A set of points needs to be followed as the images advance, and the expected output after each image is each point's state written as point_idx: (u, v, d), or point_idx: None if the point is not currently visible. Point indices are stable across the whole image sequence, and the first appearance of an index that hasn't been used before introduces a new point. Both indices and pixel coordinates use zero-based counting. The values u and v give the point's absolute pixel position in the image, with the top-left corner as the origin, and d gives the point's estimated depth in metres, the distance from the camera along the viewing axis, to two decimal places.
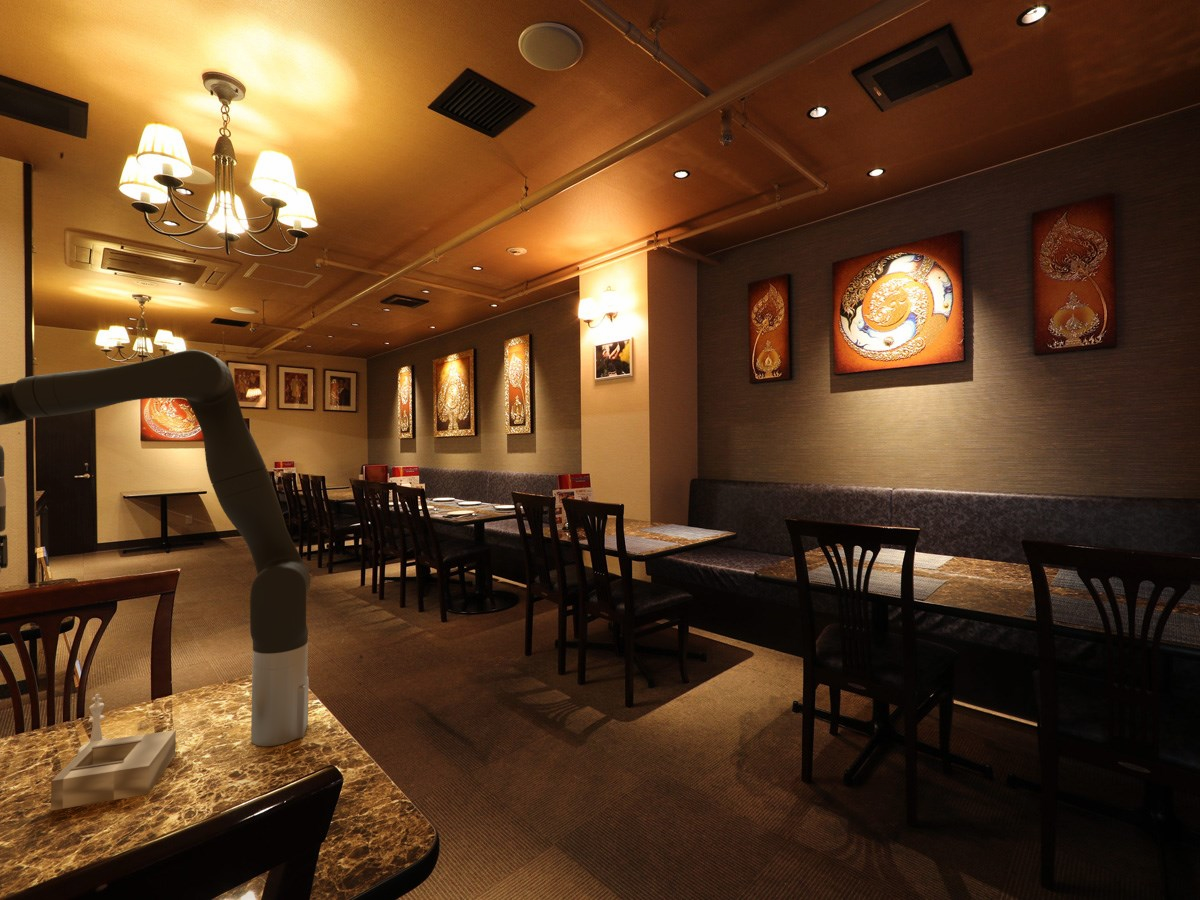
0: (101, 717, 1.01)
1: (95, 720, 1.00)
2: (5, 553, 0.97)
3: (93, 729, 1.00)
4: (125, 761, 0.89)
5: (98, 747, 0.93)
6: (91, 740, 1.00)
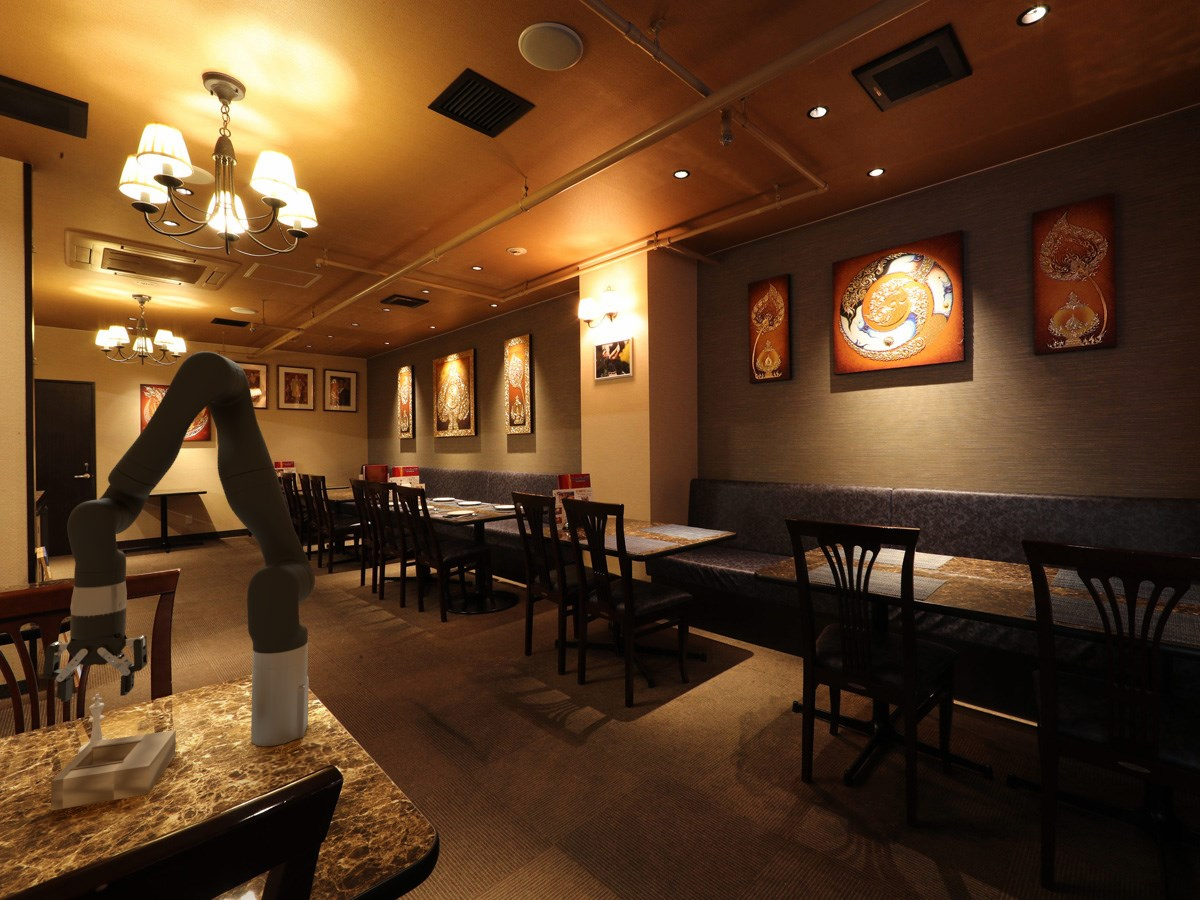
0: (101, 717, 1.01)
1: (95, 720, 1.00)
2: None
3: (93, 729, 1.00)
4: (125, 761, 0.89)
5: (98, 747, 0.93)
6: (91, 740, 1.00)
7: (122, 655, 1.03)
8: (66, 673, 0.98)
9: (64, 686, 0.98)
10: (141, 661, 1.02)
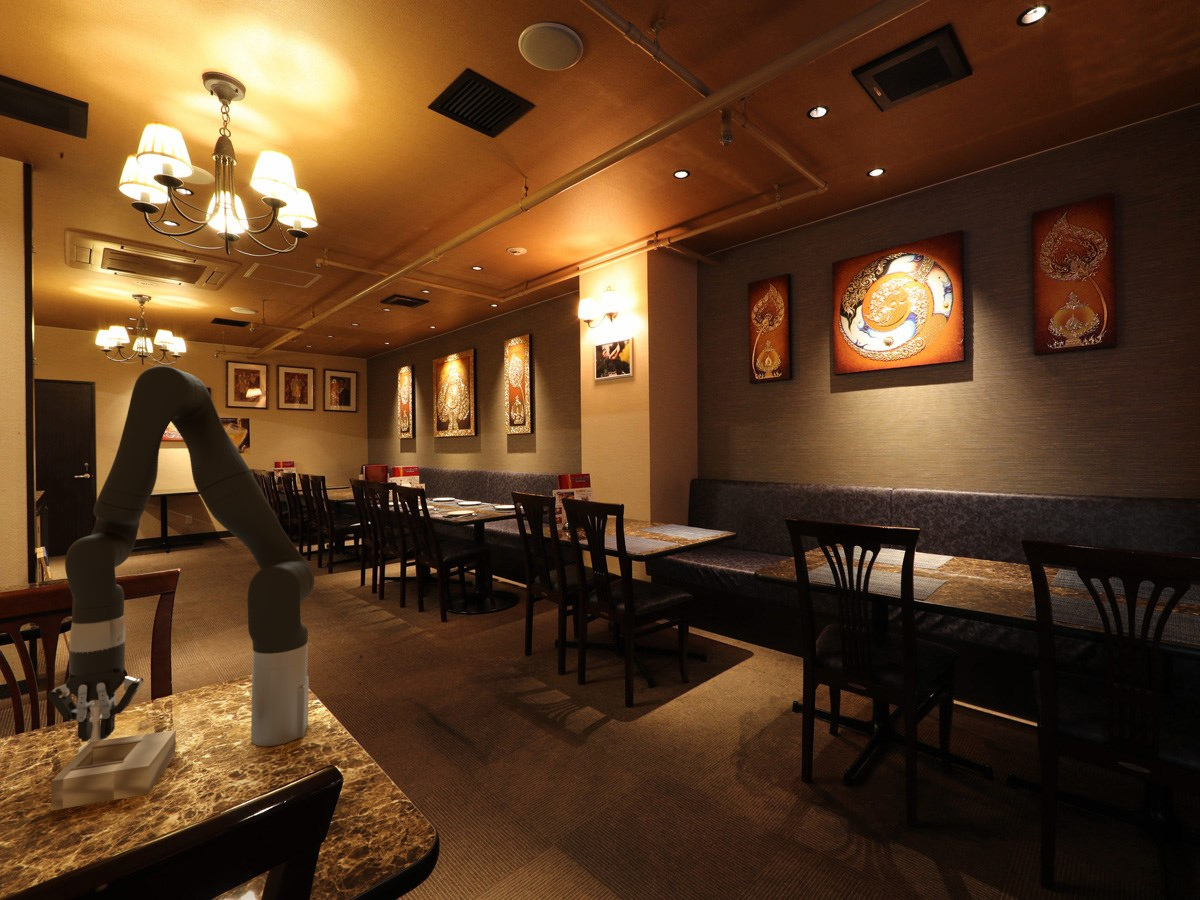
0: (101, 717, 1.01)
1: (95, 720, 1.00)
2: None
3: (93, 729, 1.00)
4: (125, 761, 0.89)
5: (98, 747, 0.93)
6: (91, 740, 1.00)
7: (112, 694, 1.02)
8: (82, 712, 0.99)
9: (85, 726, 0.99)
10: (125, 705, 1.01)
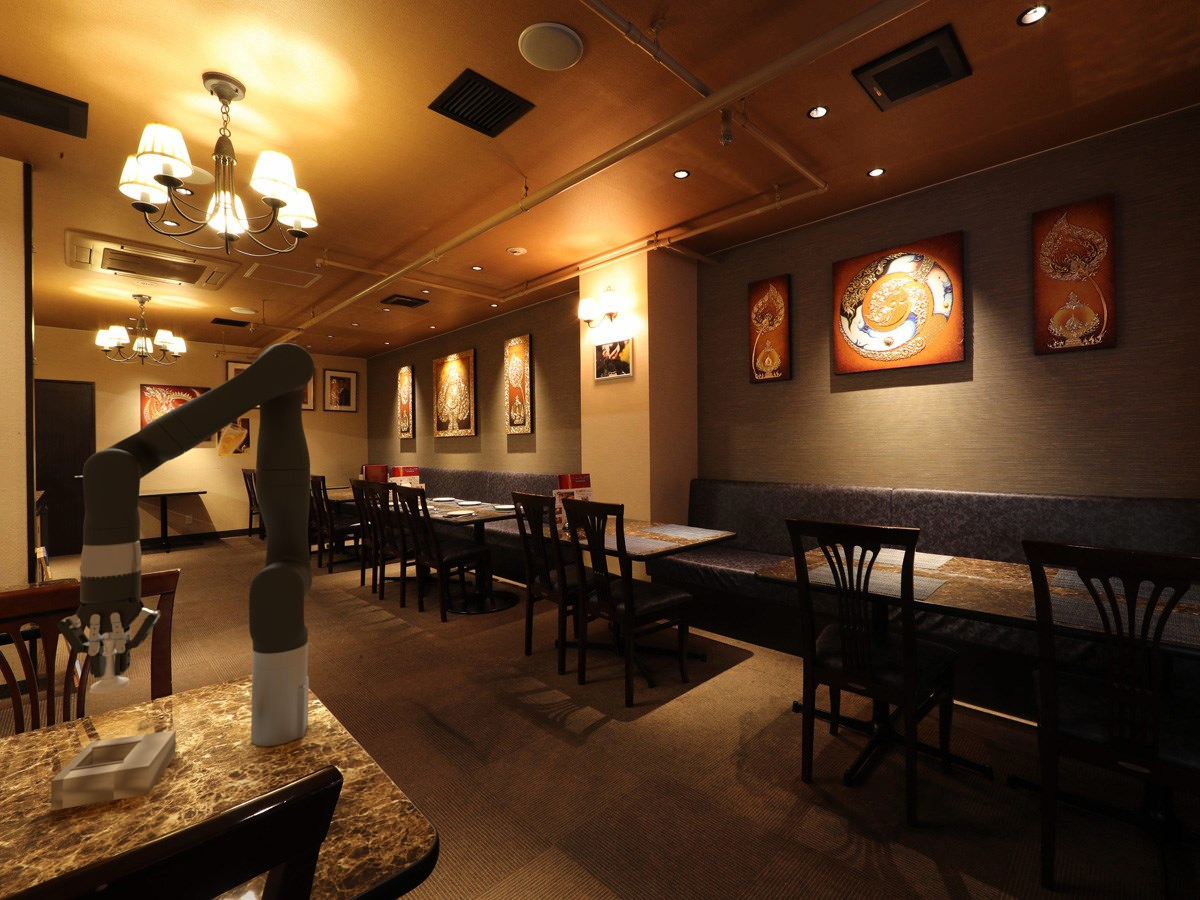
0: (115, 651, 0.91)
1: (109, 654, 0.90)
2: None
3: (107, 664, 0.90)
4: (125, 761, 0.89)
5: (98, 747, 0.93)
6: (104, 676, 0.90)
7: (127, 628, 0.93)
8: (95, 644, 0.89)
9: (97, 660, 0.89)
10: (141, 639, 0.91)
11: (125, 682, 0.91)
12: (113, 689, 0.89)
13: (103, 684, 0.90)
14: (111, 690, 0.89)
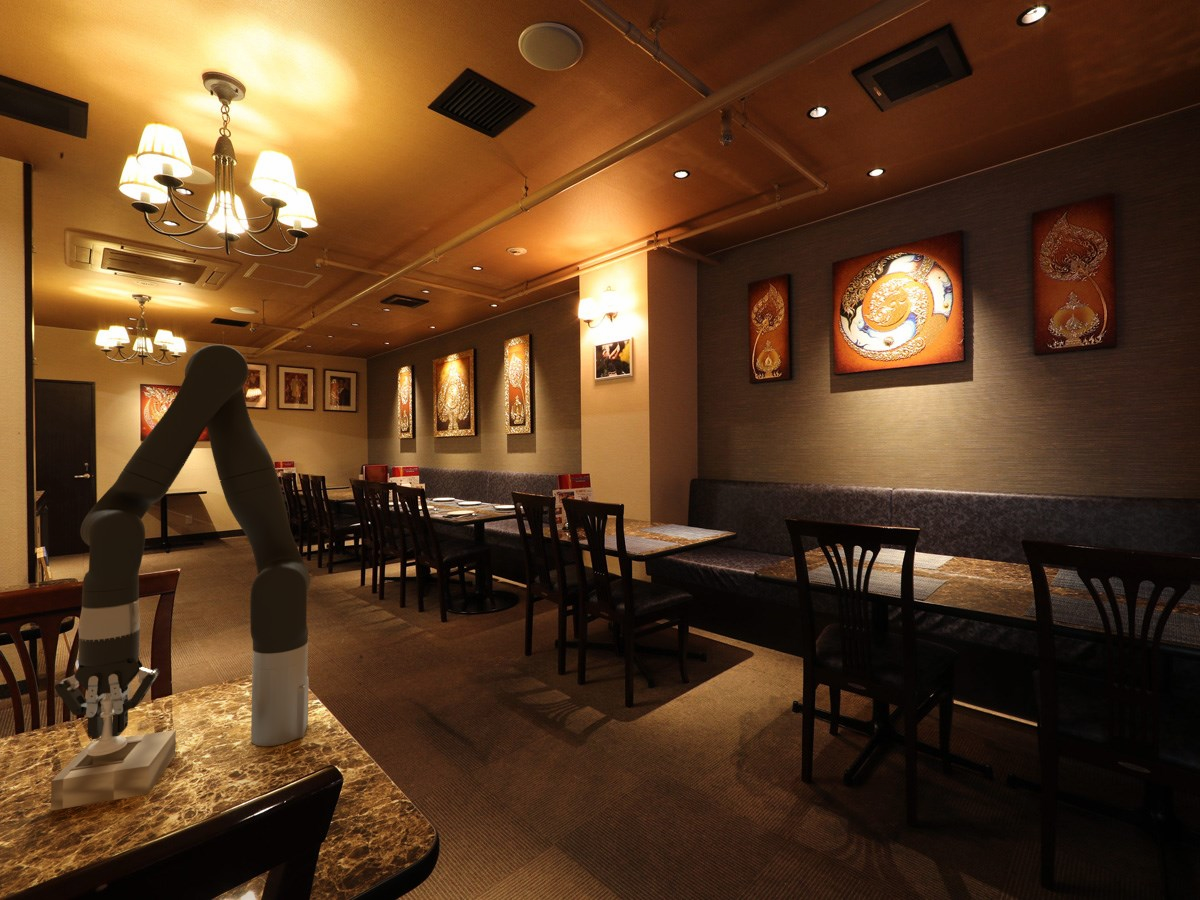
0: (113, 712, 0.91)
1: (106, 715, 0.90)
2: None
3: (104, 725, 0.90)
4: (125, 761, 0.89)
5: None
6: (102, 737, 0.90)
7: (125, 687, 0.93)
8: (92, 706, 0.89)
9: (95, 722, 0.89)
10: (139, 699, 0.91)
11: (122, 743, 0.91)
12: (110, 751, 0.89)
13: (100, 745, 0.89)
14: (108, 752, 0.89)
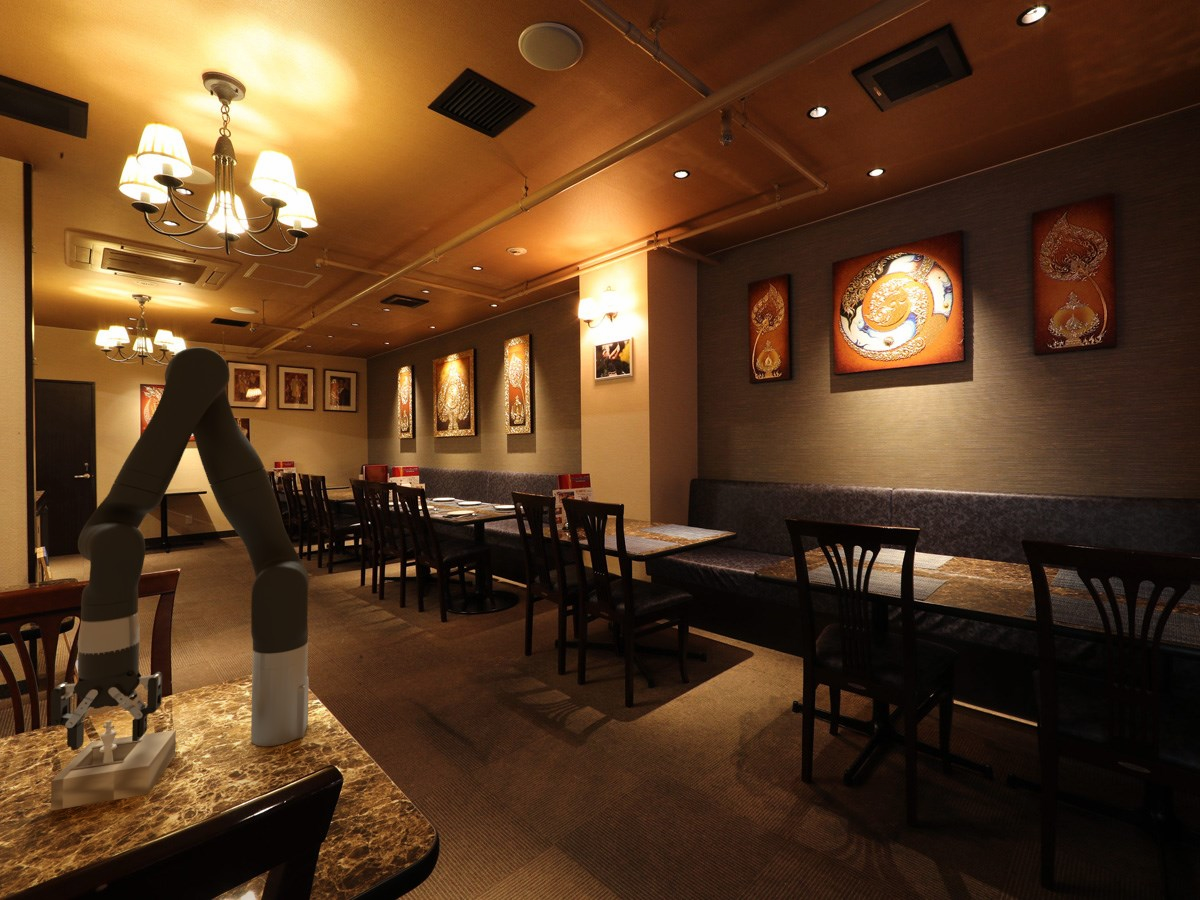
0: (113, 746, 0.91)
1: (106, 750, 0.90)
2: None
3: (104, 760, 0.90)
4: (125, 761, 0.89)
5: (98, 747, 0.93)
6: None
7: (134, 695, 0.93)
8: (76, 717, 0.88)
9: (75, 733, 0.88)
10: (155, 702, 0.92)
11: None
12: None
13: None
14: None
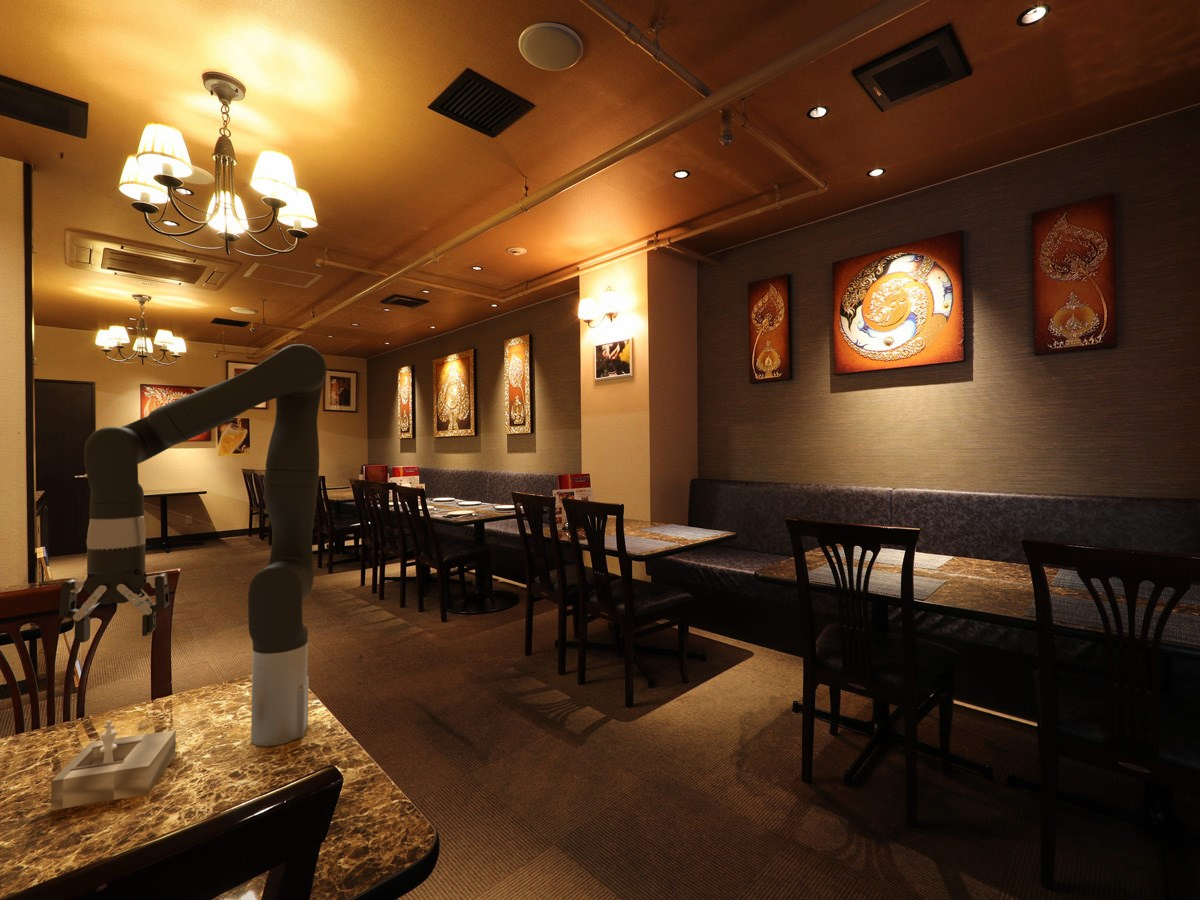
0: (113, 746, 0.91)
1: (107, 750, 0.90)
2: None
3: (104, 760, 0.90)
4: (125, 761, 0.89)
5: (98, 747, 0.93)
6: None
7: (142, 595, 0.97)
8: (84, 611, 0.92)
9: (82, 625, 0.92)
10: (163, 599, 0.96)
11: None
12: None
13: None
14: None
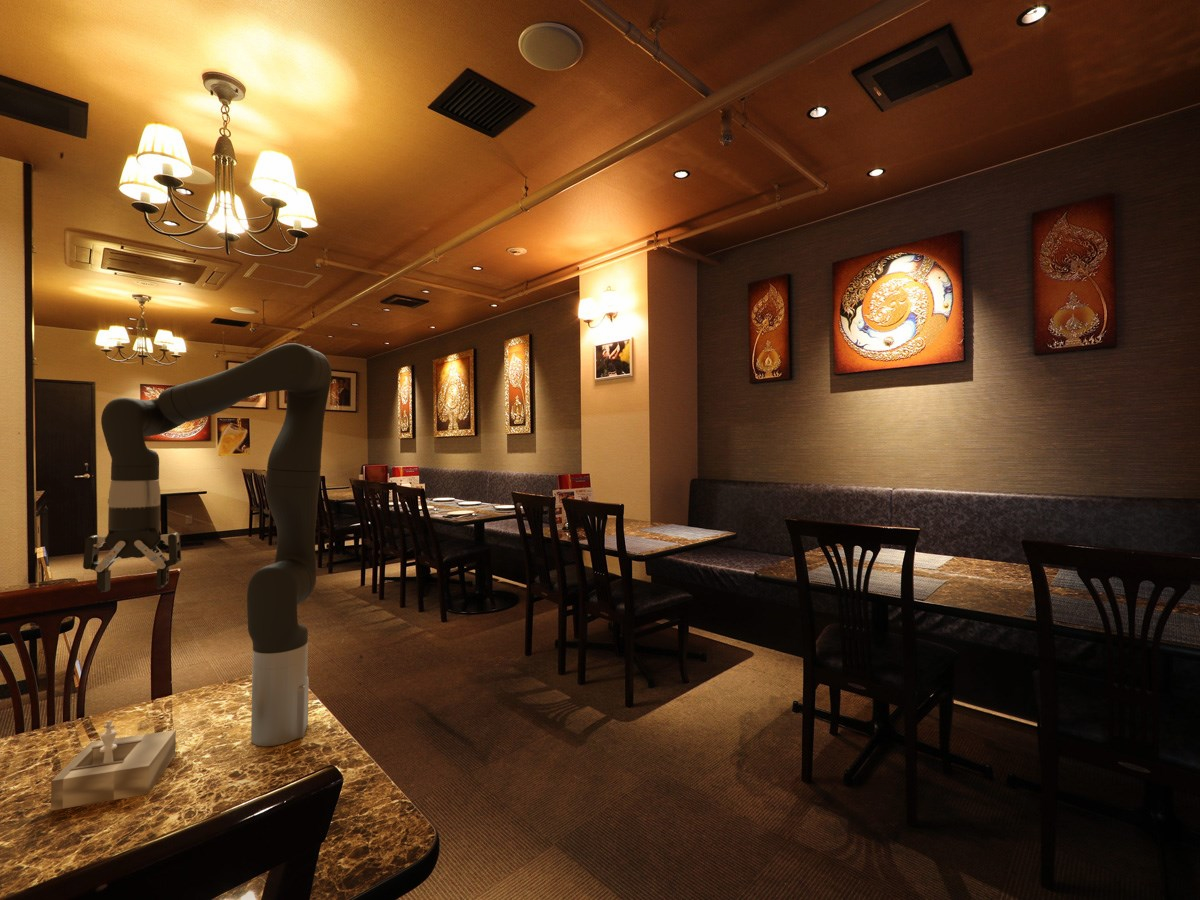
0: (113, 746, 0.91)
1: (107, 750, 0.90)
2: None
3: (104, 760, 0.90)
4: (125, 761, 0.89)
5: (98, 747, 0.93)
6: None
7: (157, 551, 1.07)
8: (105, 564, 1.02)
9: (103, 577, 1.02)
10: (176, 555, 1.06)
11: None
12: None
13: None
14: None
